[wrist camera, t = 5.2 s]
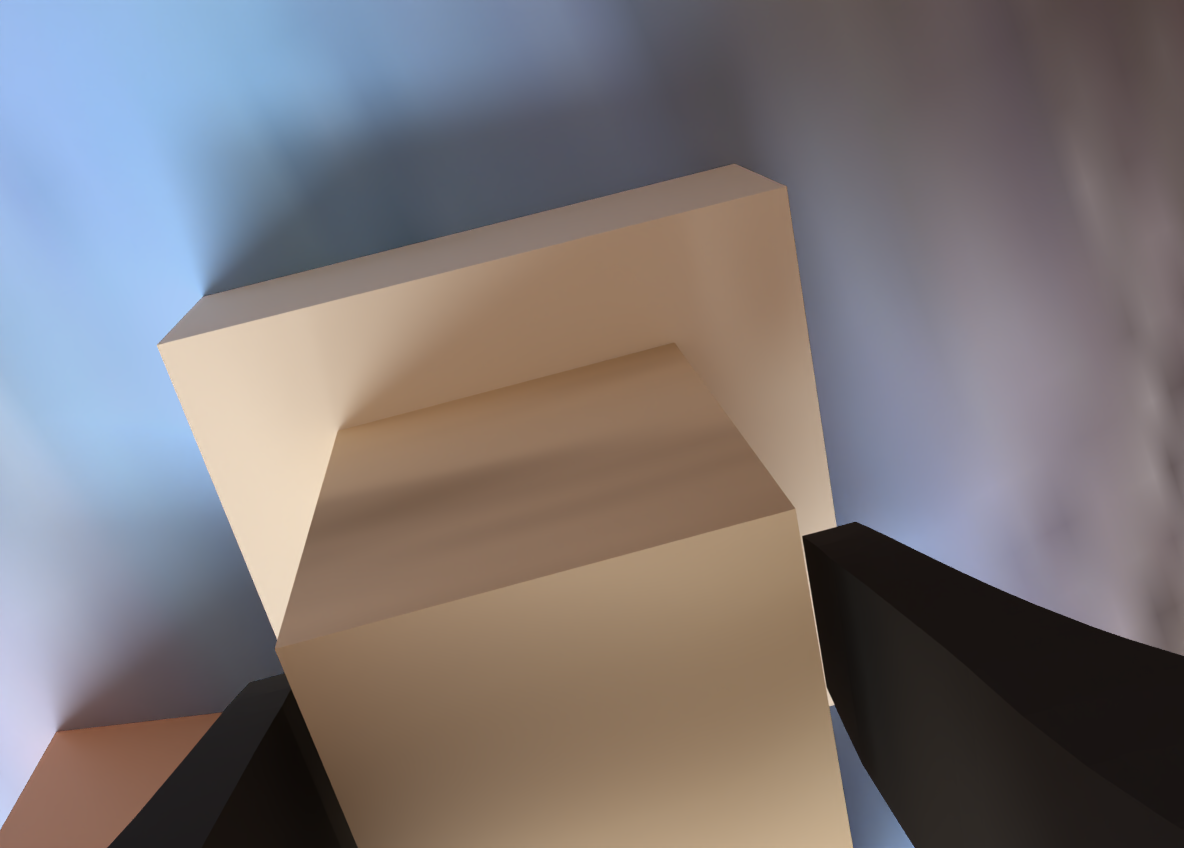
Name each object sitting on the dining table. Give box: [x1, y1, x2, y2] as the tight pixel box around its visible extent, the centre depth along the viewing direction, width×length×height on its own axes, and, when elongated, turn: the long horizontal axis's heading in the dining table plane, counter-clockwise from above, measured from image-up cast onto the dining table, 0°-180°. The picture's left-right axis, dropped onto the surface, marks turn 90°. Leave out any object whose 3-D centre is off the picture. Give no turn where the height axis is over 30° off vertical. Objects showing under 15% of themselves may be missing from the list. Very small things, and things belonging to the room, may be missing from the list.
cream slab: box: [157, 164, 837, 706], centre depth 15 cm, size 8×8×3 cm
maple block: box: [275, 343, 853, 848], centre depth 12 cm, size 4×4×5 cm
